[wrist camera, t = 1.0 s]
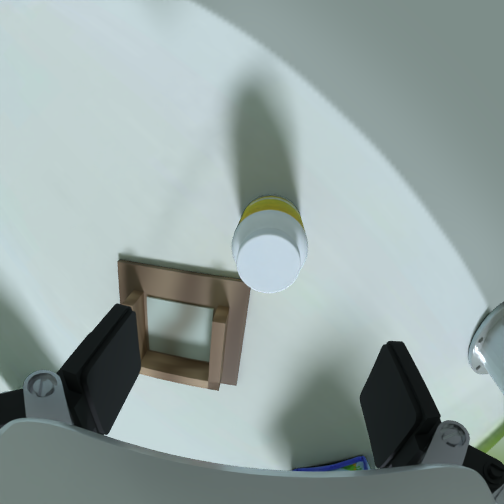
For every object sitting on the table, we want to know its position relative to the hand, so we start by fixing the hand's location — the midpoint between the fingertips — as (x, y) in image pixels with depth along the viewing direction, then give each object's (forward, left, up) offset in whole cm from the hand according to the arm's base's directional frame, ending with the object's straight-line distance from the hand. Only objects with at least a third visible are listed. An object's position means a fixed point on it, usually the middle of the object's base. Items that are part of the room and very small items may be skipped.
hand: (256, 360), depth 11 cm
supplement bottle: (0, 0, -19) cm, 19 cm away
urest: (+8, +13, -18) cm, 24 cm away
